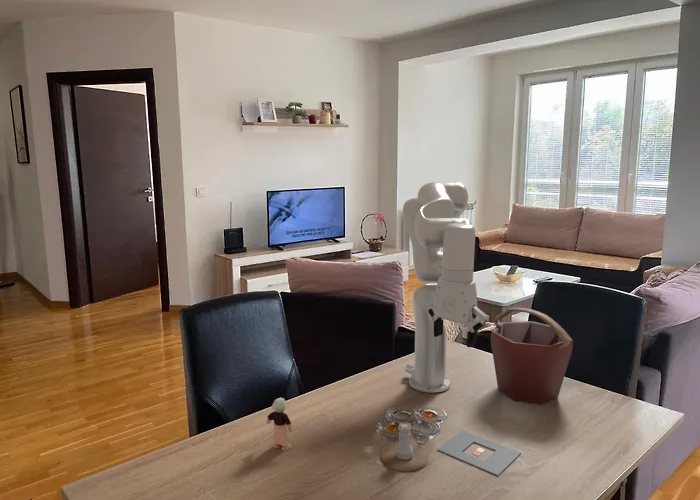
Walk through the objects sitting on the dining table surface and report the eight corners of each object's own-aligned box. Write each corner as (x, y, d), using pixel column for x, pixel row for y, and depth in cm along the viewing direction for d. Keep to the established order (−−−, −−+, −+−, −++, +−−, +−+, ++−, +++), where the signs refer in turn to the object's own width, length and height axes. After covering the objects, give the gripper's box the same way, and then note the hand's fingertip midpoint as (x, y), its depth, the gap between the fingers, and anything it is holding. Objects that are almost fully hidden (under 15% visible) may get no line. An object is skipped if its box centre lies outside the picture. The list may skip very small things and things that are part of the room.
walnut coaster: (371, 459, 127) (371, 457, 127) (399, 440, 135) (399, 438, 135) (409, 477, 120) (409, 475, 120) (436, 456, 128) (436, 454, 128)
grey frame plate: (437, 450, 131) (437, 449, 131) (462, 431, 140) (462, 430, 140) (497, 476, 120) (498, 475, 120) (521, 453, 129) (521, 452, 129)
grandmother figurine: (297, 444, 133) (296, 397, 131) (291, 453, 130) (290, 404, 127) (270, 439, 136) (268, 392, 133) (262, 447, 132) (261, 399, 130)
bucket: (474, 380, 170) (477, 304, 166) (532, 370, 178) (536, 297, 173) (524, 415, 148) (529, 328, 143) (587, 402, 155) (594, 319, 150)
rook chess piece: (412, 461, 125) (413, 430, 124) (393, 459, 126) (393, 428, 124) (414, 451, 129) (414, 420, 128) (395, 449, 130) (396, 419, 129)
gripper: (419, 270, 134) (417, 335, 138) (480, 284, 122) (476, 354, 126) (436, 265, 139) (434, 327, 143) (497, 278, 127) (493, 345, 131)
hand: (454, 340), depth 134 cm, fingers open, 9 cm apart
